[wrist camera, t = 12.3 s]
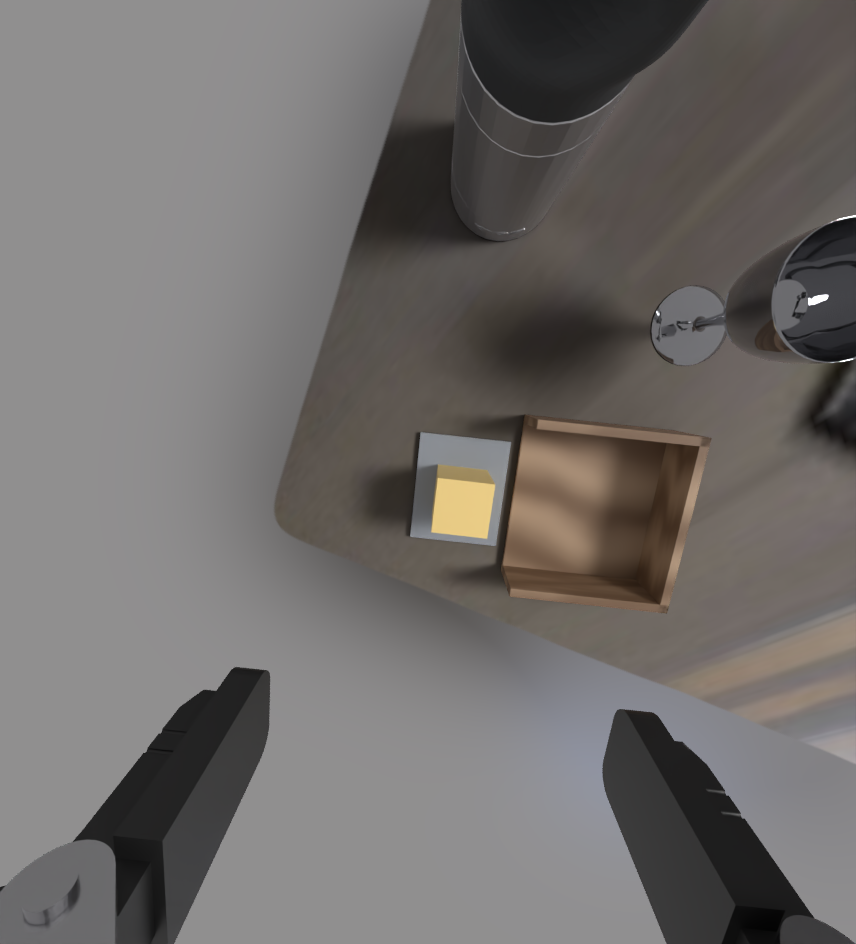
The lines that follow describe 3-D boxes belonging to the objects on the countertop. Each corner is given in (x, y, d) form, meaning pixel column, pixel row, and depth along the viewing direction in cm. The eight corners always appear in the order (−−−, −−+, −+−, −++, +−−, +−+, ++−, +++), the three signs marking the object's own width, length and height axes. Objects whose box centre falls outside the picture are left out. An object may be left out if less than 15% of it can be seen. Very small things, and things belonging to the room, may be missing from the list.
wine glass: (745, 345, 38) (934, 322, 24) (664, 385, 39) (798, 386, 25) (716, 263, 37) (899, 186, 22) (633, 307, 38) (756, 260, 23)
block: (437, 464, 41) (437, 477, 35) (487, 470, 41) (495, 484, 35) (432, 511, 42) (431, 532, 36) (480, 517, 42) (487, 538, 36)
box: (524, 414, 40) (538, 419, 35) (674, 430, 40) (711, 438, 35) (500, 569, 44) (509, 596, 38) (638, 584, 44) (666, 613, 38)
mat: (420, 431, 41) (420, 432, 41) (510, 441, 41) (511, 442, 41) (410, 535, 43) (410, 536, 43) (495, 544, 43) (495, 545, 43)
